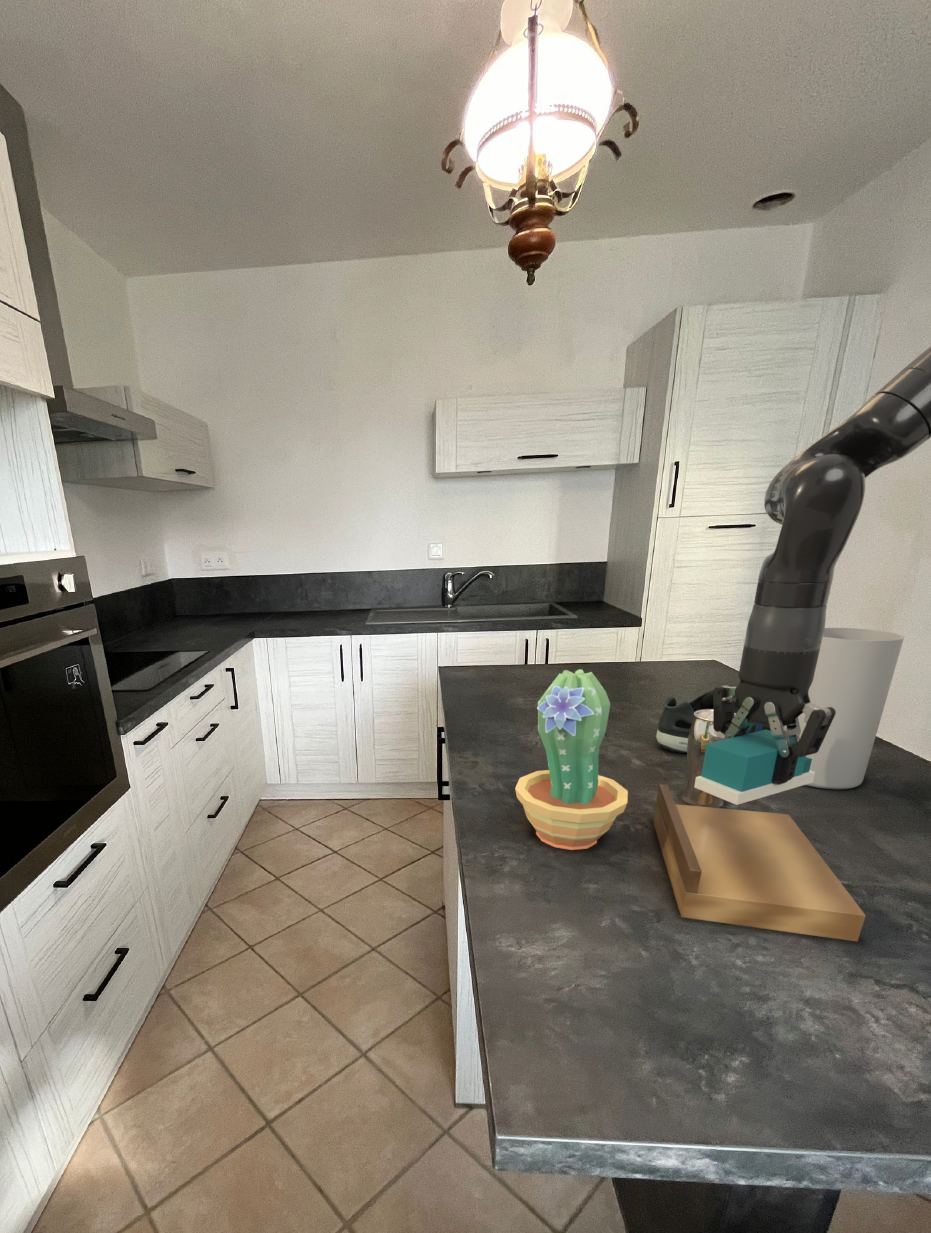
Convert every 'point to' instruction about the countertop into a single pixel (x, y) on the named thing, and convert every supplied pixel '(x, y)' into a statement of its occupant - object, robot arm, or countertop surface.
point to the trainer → (747, 768)
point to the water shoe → (686, 721)
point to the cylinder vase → (850, 700)
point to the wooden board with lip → (751, 871)
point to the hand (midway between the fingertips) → (755, 773)
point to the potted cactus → (572, 766)
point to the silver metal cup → (700, 758)
